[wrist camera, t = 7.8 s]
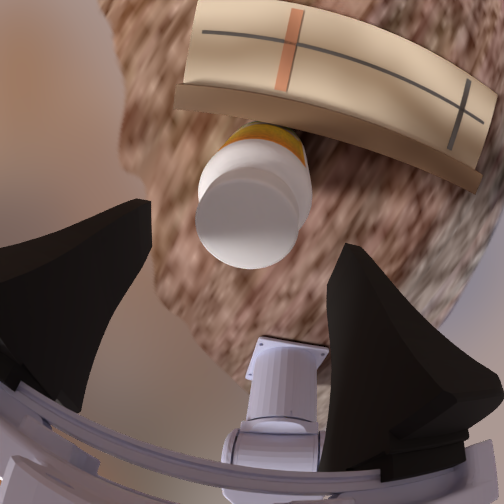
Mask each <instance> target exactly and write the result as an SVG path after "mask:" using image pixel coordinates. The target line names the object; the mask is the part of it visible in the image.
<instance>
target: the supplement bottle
mask: <svg viewBox="0 0 504 504" xmlns="http://www.w3.org/2000/svg"><path fill="white" fill-rule="evenodd" d="M198 197H199V204H198V207H197V210H196V217H195V224H196V230H197V233H198V236H199V238H200V240H201V242H202V244H203V245H204V246H205V248H206V249H207V250H208V251H209V252H210V253H211V254H212V255H213V256H214V257H216V258H217V259H219V260H220V261H222V262H224V263H226V264H228V265H231V266H234V267H238V268H244V269H258V268H264V267H267V266H270V265H273V264H275V263H277V262H278V261H280V260H281V259H283V258H284V257H285V256H286V255H287V254H288V253H289V252H290V251H291V249H292V248H293V246H294V244H295V242H296V240H297V236H298V231H299V229H300V228H301V227H302V225H303V224H304V223H305V221H306V219H307V217H308V215H309V212H310V209H311V204H312V184H311V179H310V173H309V168H308V162H307V157H306V153H305V149H304V146H303V144H302V142H301V140H300V138H299V137H298V136H297V135H296V133H295V132H294V131H293V130H291V129H290V128H289V127H285V126H280V125H276V124H271V123H266V122H261V121H254V122H251V123H248V124H246V125H244V126H242V127H241V128H240V129H238V130H237V131H236V132H235V133H234V134H233V135H232V136H231V137H230V138H229V139H228V141H227V142H226V143H225V144H224V145H223V146H222V147H221V148H220V149H219V150H218V151H217V152H216V154H215V155H214V156H213V157H212V158H211V159H210V160H209V162H208V163H207V165H206V167H205V168H204V170H203V173H202V175H201V178H200V182H199V189H198Z"/></svg>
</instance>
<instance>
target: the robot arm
mask: <svg viewBox="0 0 504 504" xmlns="http://www.w3.org/2000/svg"><path fill="white" fill-rule="evenodd" d="M151 248H152V228H151V201H148V200H142V199H134V200H130V201H128V202H125V203H122V204H120V205H117V206H115V207H113V208H111V209H109V210H106V211H104V212H102V213H99V214H97V215H95V216H93V217H91V218H88V219H86V220H83V221H81V222H79V223H76V224H74V225H72V226H70V227H67V228H65V229H62V230H59V231H57V232H54V233H51V234H48V235H45V236H42V237H39V238H36V239H32V240H29V241H26V242H22V243H19V244H15V245H11V246H7V247H3V248H0V479H1V480H2V482H1V486H0V504H179V503H175V502H171V501H168V500H164V499H161V498H158V497H154V496H151V495H148V494H145V493H142V492H139V491H136V490H134V489H131V488H128V487H125V486H123V485H120V484H118V483H116V482H113V481H111V480H108V479H106V478H104V477H102V476H99V475H98V474H97V471H98V468H99V465H100V461H99V460H98V459H97V458H95V457H93V456H91V455H89V454H88V453H86V452H84V451H83V450H81V449H80V448H78V447H77V446H76V445H74V444H73V443H72V442H70V441H68V440H66V439H65V438H63V437H62V436H60V435H58V434H57V433H55V432H53V431H52V427H51V426H50V425H52V426H54V427H55V428H57V429H59V430H61V431H62V432H64V433H66V434H68V435H70V436H71V437H73V438H75V439H77V440H79V441H81V442H83V443H85V444H87V445H89V446H91V447H93V448H96V449H98V450H100V451H102V452H104V453H107V454H109V455H111V456H114V457H116V458H119V459H121V460H124V461H126V462H129V463H131V464H134V465H137V466H140V467H142V468H145V469H149V470H151V471H155V472H158V473H161V474H164V475H168V476H171V477H175V478H178V479H183V480H186V481H191V482H194V483H199V484H203V485H208V486H213V487H219V488H222V491H223V495H224V496H225V497H226V498H227V499H228V500H229V501H230V502H231V503H232V504H490V503H492V502H494V501H495V500H497V499H498V497H499V495H498V481H497V471H496V463H495V456H494V451H493V444H492V440H491V439H489V440H486V441H483V442H480V443H477V444H474V445H471V446H469V447H466V448H465V447H464V441H466V440H467V439H468V438H469V432H468V429H469V428H470V427H472V426H473V425H475V424H476V423H478V422H479V421H481V420H482V419H483V418H485V417H486V416H488V415H489V414H490V413H492V412H493V411H494V410H495V409H496V408H497V407H498V406H499V405H500V404H501V402H502V401H503V399H504V391H503V388H502V385H501V381H500V379H499V377H498V375H497V374H496V373H494V372H493V371H491V370H490V369H488V368H486V367H485V366H483V365H482V364H480V363H478V362H477V361H475V360H474V359H473V358H471V357H470V356H469V355H467V354H466V353H465V352H463V351H462V350H460V349H459V348H458V347H457V346H455V345H454V344H453V343H452V342H450V341H449V340H448V339H447V338H446V337H445V336H444V335H442V334H441V333H440V332H439V331H438V330H437V329H436V328H434V327H433V326H432V325H431V324H430V323H429V322H428V321H427V320H426V319H425V318H424V317H423V316H422V315H421V314H420V313H419V312H418V311H417V310H416V309H415V308H414V307H413V306H412V305H411V304H410V303H409V301H408V300H407V299H406V298H405V297H404V296H403V295H402V294H401V292H400V291H399V290H398V289H397V288H396V287H395V285H394V284H393V283H392V282H391V281H390V280H389V278H388V277H387V276H386V275H385V274H384V272H383V271H382V270H381V269H380V268H379V266H378V265H377V264H376V263H375V262H374V260H373V259H372V258H371V257H370V256H369V255H368V254H367V253H366V251H365V250H364V249H363V248H361V247H360V246H356V245H352V244H348V243H345V245H344V247H343V250H342V252H341V254H340V257H339V259H338V261H337V263H336V266H335V268H334V270H333V273H332V275H331V277H330V279H329V281H328V284H327V318H328V328H329V338H330V348H331V362H332V375H331V393H330V404H329V414H328V421H327V428H326V432H325V431H319V433H318V422H316V421H317V369H318V367H319V366H320V365H321V363H322V362H323V360H324V359H325V357H326V356H327V354H328V353H329V348H327V347H321V346H315V345H308V344H302V343H296V342H290V341H285V340H279V339H274V338H268V337H259V338H258V341H257V344H256V346H255V349H254V352H253V355H252V358H251V361H250V364H249V367H248V370H247V373H246V377H245V378H246V379H248V380H252V385H251V391H250V398H249V405H248V411H247V417H246V421H241V427H240V429H238V428H236V429H234V430H233V431H232V432H231V433H229V434H228V436H227V437H226V440H225V443H224V446H223V451H222V458H221V462H217V461H212V460H207V459H203V458H199V457H195V456H190V455H186V454H183V453H179V452H175V451H172V450H168V449H165V448H162V447H158V446H155V445H152V444H149V443H146V442H143V441H140V440H138V439H135V438H132V437H129V436H127V435H124V434H122V433H119V432H117V431H114V430H112V429H109V428H107V427H105V426H102V425H100V424H98V423H95V422H94V421H91V420H89V419H87V418H85V417H83V416H81V415H79V414H77V413H79V412H81V408H82V403H83V398H84V394H85V390H86V385H87V381H88V378H89V375H90V371H91V368H92V365H93V362H94V358H95V356H96V353H97V350H98V347H99V345H100V342H101V339H102V337H103V335H104V332H105V330H106V328H107V326H108V323H109V321H110V319H111V317H112V315H113V313H114V311H115V310H116V308H117V306H118V305H119V303H120V301H121V300H122V298H123V297H124V295H125V293H126V292H127V290H128V289H129V287H130V286H131V284H132V282H133V281H134V279H135V278H136V276H137V275H138V273H139V272H140V270H141V268H142V267H143V265H144V262H145V261H146V259H147V256H148V254H149V252H150V250H151ZM325 495H332V496H331V497H329V498H328V499H324V500H323V497H324V496H325Z"/></svg>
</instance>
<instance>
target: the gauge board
mask: <svg viewBox="0 0 504 504" xmlns="http://www.w3.org/2000/svg"><path fill="white" fill-rule="evenodd" d="M496 100H497V94H496V93H494V92H493V91H492V90H490V89H489V88H488V87H486V86H485V85H484V84H482V83H481V82H479V81H478V80H477V79H475V78H474V77H472V76H471V75H469V74H468V73H466V72H465V71H463V70H462V69H460V68H458V67H457V66H455V65H453V64H452V63H450V62H448V61H447V60H445V59H443V58H442V57H440V56H438V55H436V54H434V53H433V52H431V51H429V50H427V49H425V48H423V47H421V46H419V45H417V44H415V43H413V42H411V41H409V40H407V39H404V38H402V37H400V36H398V35H395V34H393V33H391V32H388V31H386V30H383V29H381V28H378V27H376V26H373V25H370V24H368V23H365V22H362V21H359V20H356V19H353V18H350V17H347V16H343V15H340V14H337V13H333V12H329V11H326V10H322V9H318V8H314V7H309V6H305V5H300V4H295V3H290V2H284V1H278V0H198V3H197V8H196V12H195V17H194V22H193V27H192V32H191V38H190V43H189V49H188V55H187V61H186V68H185V74H184V82H183V84H176V90H175V98H174V107H173V109H177V110H188V111H197V112H205V113H213V114H220V115H226V116H233V117H239V118H245V119H250V120H256V121H261V122H266V123H271V124H276V125H280V126H285V127H289V128H294V129H298V130H302V131H306V132H310V133H314V134H318V135H321V136H325V137H329V138H332V139H336V140H339V141H342V142H346V143H349V144H352V145H355V146H359V147H362V148H365V149H368V150H371V151H374V152H377V153H379V154H382V155H385V156H388V157H391V158H393V159H396V160H399V161H401V162H404V163H406V164H409V165H411V166H414V167H416V168H419V169H421V170H424V171H426V172H428V173H431V174H433V175H435V176H437V177H440V178H442V179H444V180H446V181H448V182H451V183H453V184H455V185H457V186H459V187H461V188H463V189H465V190H467V191H469V192H471V193H473V194H476V192H477V189H478V187H479V184H480V182H481V180H482V177H483V175H482V174H481V173H479V172H478V171H476V170H475V168H476V165H477V162H478V160H479V157H480V154H481V151H482V148H483V145H484V142H485V139H486V136H487V133H488V130H489V126H490V123H491V119H492V116H493V112H494V108H495V104H496Z"/></svg>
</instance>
